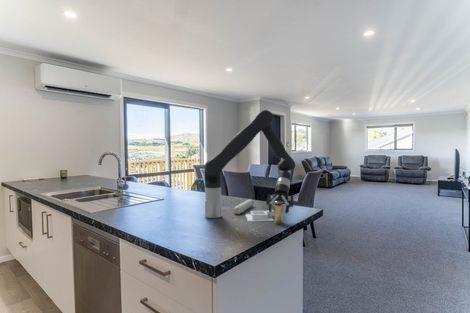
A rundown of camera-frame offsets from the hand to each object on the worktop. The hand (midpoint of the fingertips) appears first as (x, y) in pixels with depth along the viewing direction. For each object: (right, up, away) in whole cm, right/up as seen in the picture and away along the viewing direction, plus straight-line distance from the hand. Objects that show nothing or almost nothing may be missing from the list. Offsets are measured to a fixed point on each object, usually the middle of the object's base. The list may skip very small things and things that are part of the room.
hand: (278, 212), depth 138 cm
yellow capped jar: (0, -6, +1) cm, 6 cm away
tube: (-17, -6, +30) cm, 35 cm away
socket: (-7, -6, +11) cm, 14 cm away
